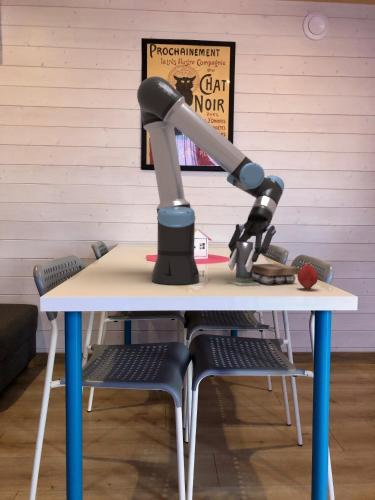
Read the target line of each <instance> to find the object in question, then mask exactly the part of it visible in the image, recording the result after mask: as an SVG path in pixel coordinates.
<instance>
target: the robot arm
mask: <svg viewBox="0 0 375 500" xmlns="http://www.w3.org/2000/svg"><path fill="white" fill-rule="evenodd" d="M137 88H138V89H137V93H136V98H137V102H138V105H139V108H140V113H141V119H142V126H143V129H144V130H145V131H146V132H148V135H149V142H150V149H151V153H152V161H153V166H154V173H155V181H156V185H157V191H158V198H159V204H158V206H157V207H156V214H157V216H156V220H157V246H156V247H157V256H156V260H155V264H154V266H153V270H152V273H151V282H153V283H155V284H161V285H174V286H175V285H176V286H177V285H180V286H182V285H183V286H184V285H191V284H198V283H199V282H200V272H199V269H198V265H197V263H196V258H195V233H196V232H195V228H196V226H195V225H196V224H195V222H196V213H195V210H194V209H193V208H191V202H189V201H188V200H187V199H186V197H185V191H184V185H183V180H182V179H183V178H182V172H181V164H180V159H179V152H178V145H177V140H176V132H175V129H176V130H178V132H180V133H182V135H184V136H185V137H186V138H188V139H189V140H190V141H191V142H192V143H193V144H194V145H195V146H196V147H198V148H199V149H200V150H201V151H203V152H204V154H206V155H207V156H208V157H209V158H210V159H212V160H213V161H214V162H215V163H216V164H218V165H219V166H220V167H221V168H222V169H223V170H224V171H225V172H227V176H226V181H227V182H228V183H229V184H231V185H232V187H236V188H238V189H239V190H241V191H243V192H244V193H247V194H248V195H251V196H252V197H253V198H255V200H254V202H253V205H252V206H251V209H250V211H249V213H248V216H247V219H246V222H244V224H242V225H240V224H239V223H236V225H235V230H234V232H233V234H232V236H231V239H230V241H229V243H228V245H227V247H228V248H229V251H230V254H229V259H230V260H229V261H228V268H229V269H230V271H234V268H236V250H237V242H248V240H250V239H251V238H252V237H255V242H254V243H255V244H254V246H253V250H252V251H251V253H250V255H249V258H248V260H247V263H246V265H245V267H246V269H247V271H248V272H250V271H251V268H252V266H253V264H254V263H257V262H258V260H259V257H260V255H261V254H263V255H265V254H267V253H268V250H269V248H270V245H271V242H272V239H273V236H274V235H275V234H276V233H277V230H276V227H275V225H271V222H272V220H273V217H274V215H275V213H276V210H277V207H278V204H279V202H280V200H281V197H282V196H283V192H284V189H285V182H284V180H283V179H282V178H281V177H279V176H277V175H273V174H271V175H267V176H266V175H265V171H264V168H263V167H262V166H261V164H258V163H256V162H253V161H252V160H251V159H250V158H249V157H247V155H246V154H244V153H243V152H242V151H241V150H240V149H238V147H236V145H234V144H233V143H232V142H231V141H230V140H229V139H227V138H226V137H225V136H224V135H223V134H222V133H220V132H219V131H218V130H217V129H216V128H215V127H214V126H213V125H212V124H210V123H209V122H208V121H207V120H206V119H205V118H203V117H202V116H201V115H200V114H199V113H198V112H197V111H195V110H194V109H193V108H192V107H191V106H190V105H189V104H188V103H187V102H186V99H185V96H184V95H182V94H181V93H180V92H179V91H178V89H176V88H175V87H174V85H172V84H171V83H170V82H169V81H168V80H167V79H166V78H163V77H161V76H149V77H147V78H145V79H144V80H142V82H141V83H140V85H139V86H138V87H137ZM265 176H266V177H265ZM270 225H271V226H270ZM265 233H266V234H265ZM263 234H265V236H264V239H263ZM262 240H263V241H262Z"/></svg>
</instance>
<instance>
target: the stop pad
mask: <svg viewBox="0 0 375 500" xmlns="http://www.w3.org/2000/svg"><path fill="white" fill-rule="evenodd" d="M228 283H229V284H232V285H235V286H239V287H245V286H246V287H247V286H249V287H250V286H260V284H261V283H260V282H257V281H254V280H251V279H250V280H249V279H244V280H243V279H240V280H237V279H236V280H228Z"/></svg>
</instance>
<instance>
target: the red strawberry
mask: <svg viewBox="0 0 375 500" xmlns="http://www.w3.org/2000/svg"><path fill="white" fill-rule="evenodd" d="M318 279H319V275H318V271H317V270H316V268H314V267H313V266H312V265H311V262H307V263H306V264H305V265H304V266H302V267H301V268H300V269H299V272H298V274H297V281H298V283H299V285H300V286H301V287H303V288H304V289H305V290H307V291H308V290H310V289H311V288H313V287H314V286H315V285H316V284H317V282H318V281H319V280H318Z"/></svg>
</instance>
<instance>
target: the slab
mask: <svg viewBox="0 0 375 500" xmlns="http://www.w3.org/2000/svg"><path fill="white" fill-rule="evenodd" d="M299 271H300V268H299V267H296V266H291V265H286V264H282V263H275V262H274V263H257V264H254V263H253V266H252V272H255V273H259V274H263V275H267V276H275V275H294V276H295V275H298V272H299Z"/></svg>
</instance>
